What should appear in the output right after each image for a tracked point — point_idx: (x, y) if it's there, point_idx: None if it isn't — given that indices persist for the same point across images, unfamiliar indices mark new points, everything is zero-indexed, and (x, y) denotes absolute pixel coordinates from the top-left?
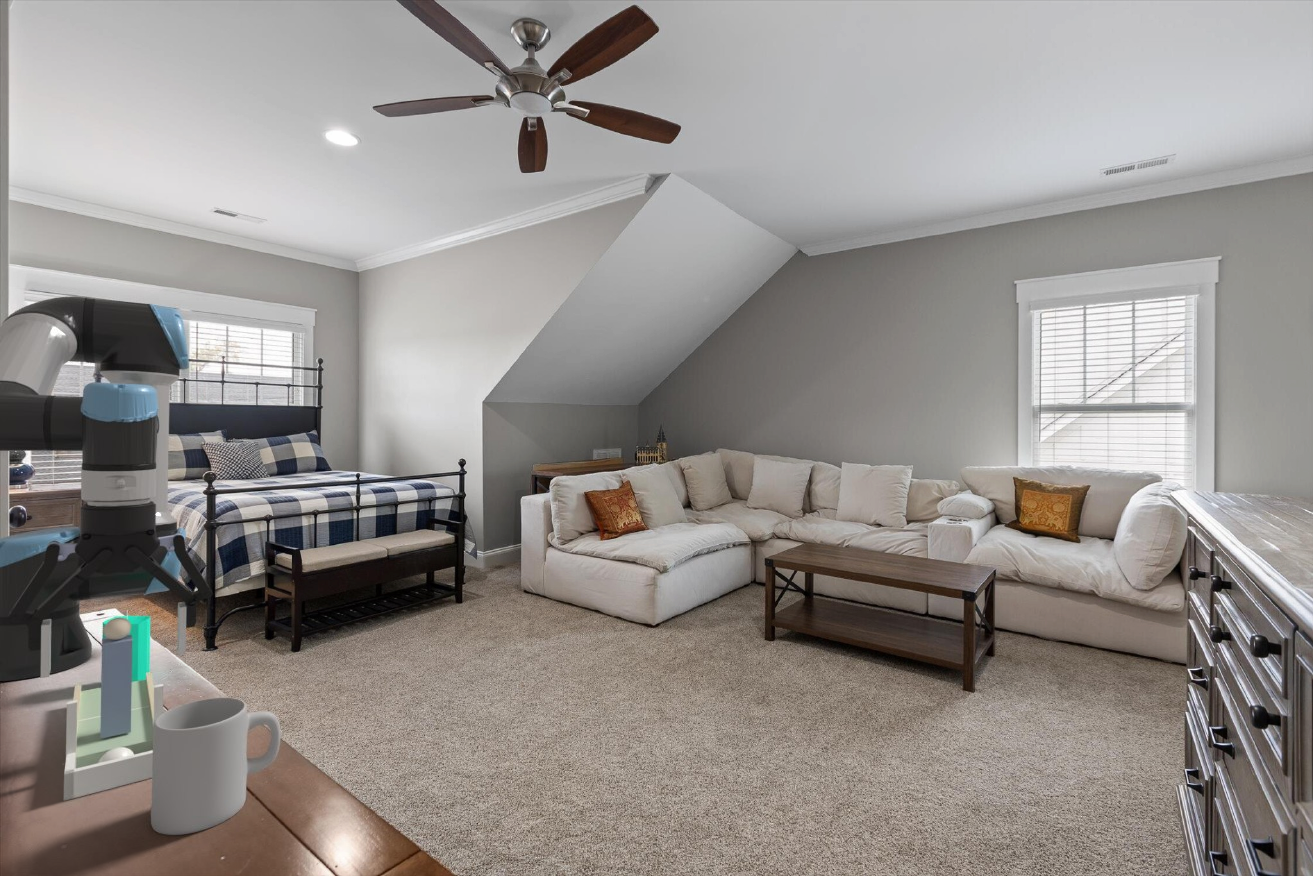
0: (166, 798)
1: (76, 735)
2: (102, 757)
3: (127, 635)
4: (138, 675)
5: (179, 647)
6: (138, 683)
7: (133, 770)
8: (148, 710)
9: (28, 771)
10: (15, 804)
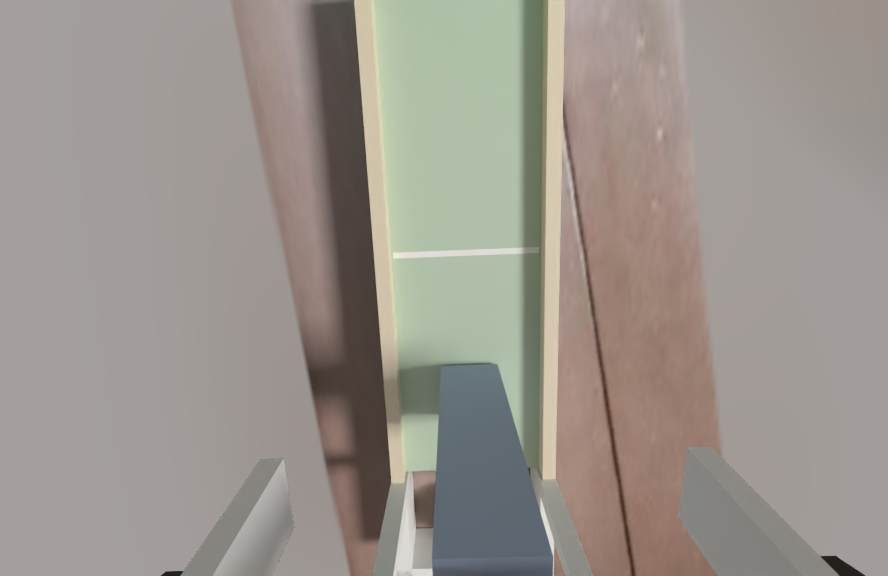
0: None
1: (403, 524)
2: None
3: (535, 565)
4: None
5: (698, 543)
6: (522, 4)
7: None
8: (536, 279)
9: (334, 388)
10: (340, 508)
